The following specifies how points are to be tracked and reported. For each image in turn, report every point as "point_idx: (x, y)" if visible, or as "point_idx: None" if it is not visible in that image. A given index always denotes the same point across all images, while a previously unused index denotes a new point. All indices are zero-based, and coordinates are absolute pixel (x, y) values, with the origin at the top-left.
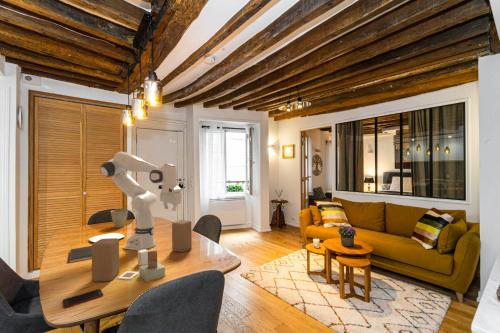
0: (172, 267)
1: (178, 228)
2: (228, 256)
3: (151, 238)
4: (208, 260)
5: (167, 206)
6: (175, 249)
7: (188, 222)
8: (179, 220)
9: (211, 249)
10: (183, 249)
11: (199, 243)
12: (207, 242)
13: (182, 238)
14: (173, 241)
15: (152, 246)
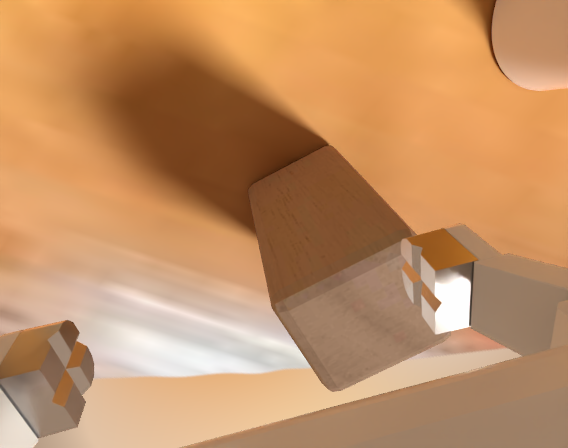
0: (12, 32)
1: (309, 249)
2: None
3: (552, 49)
4: (27, 263)
5: (433, 314)
6: (303, 159)
7: (312, 365)
8: None
9: (196, 332)
10: (249, 198)
11: None
12: None
13: (257, 228)
14: (332, 169)
15: (497, 49)
